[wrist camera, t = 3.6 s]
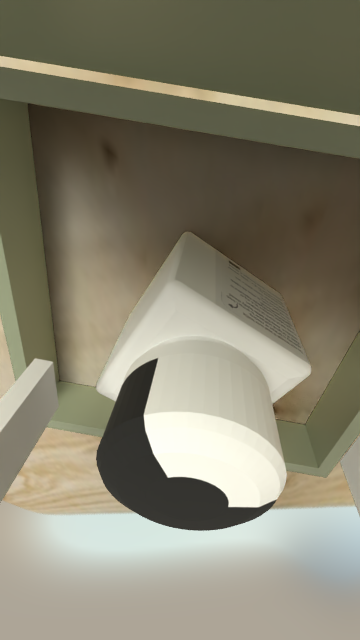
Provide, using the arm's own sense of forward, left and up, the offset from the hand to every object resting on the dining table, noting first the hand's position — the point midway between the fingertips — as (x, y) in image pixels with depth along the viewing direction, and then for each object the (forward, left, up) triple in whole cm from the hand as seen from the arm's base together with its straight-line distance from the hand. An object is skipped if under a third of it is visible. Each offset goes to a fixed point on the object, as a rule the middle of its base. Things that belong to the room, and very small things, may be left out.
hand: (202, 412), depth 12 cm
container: (0, 0, -10) cm, 10 cm away
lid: (+14, 0, +6) cm, 15 cm away
